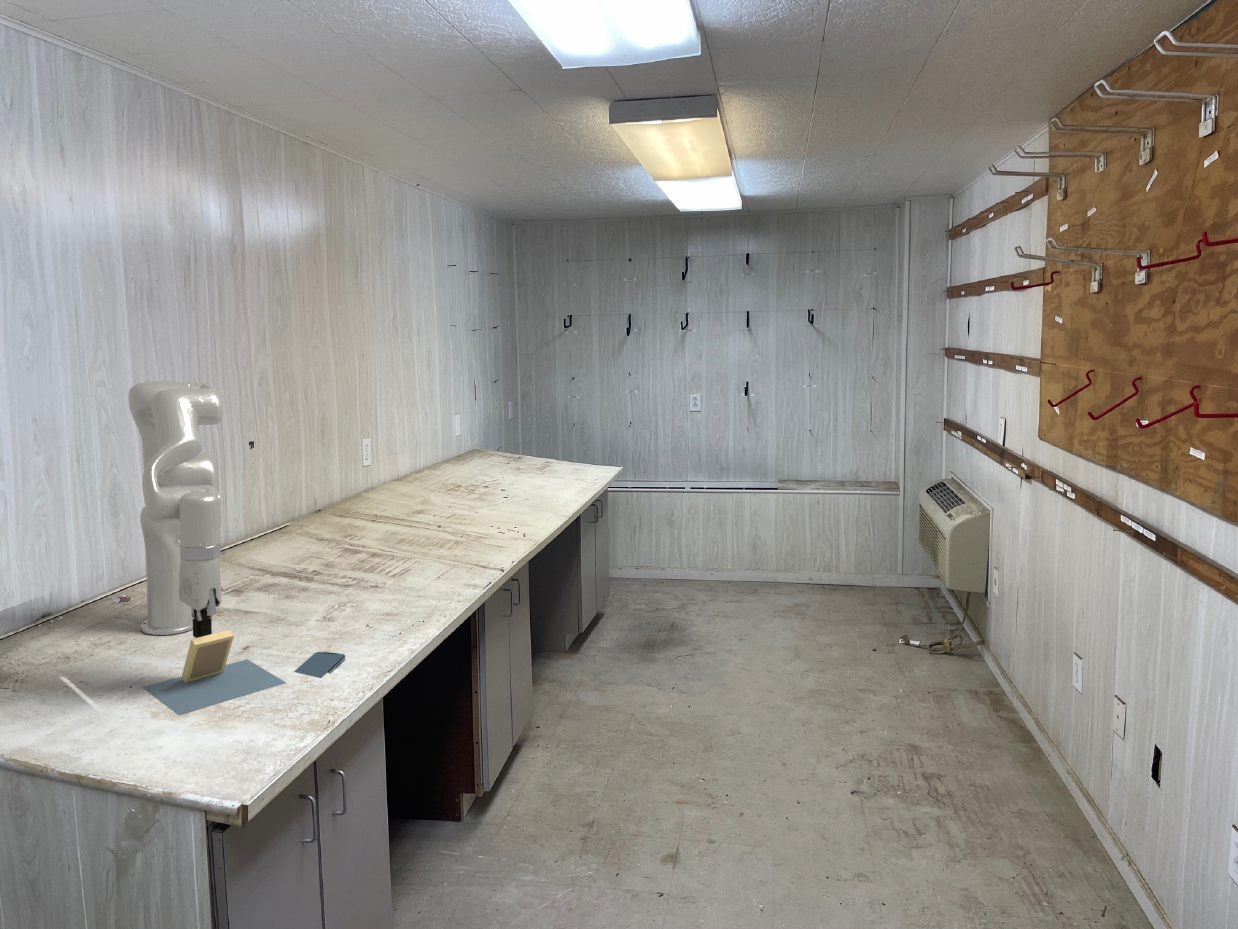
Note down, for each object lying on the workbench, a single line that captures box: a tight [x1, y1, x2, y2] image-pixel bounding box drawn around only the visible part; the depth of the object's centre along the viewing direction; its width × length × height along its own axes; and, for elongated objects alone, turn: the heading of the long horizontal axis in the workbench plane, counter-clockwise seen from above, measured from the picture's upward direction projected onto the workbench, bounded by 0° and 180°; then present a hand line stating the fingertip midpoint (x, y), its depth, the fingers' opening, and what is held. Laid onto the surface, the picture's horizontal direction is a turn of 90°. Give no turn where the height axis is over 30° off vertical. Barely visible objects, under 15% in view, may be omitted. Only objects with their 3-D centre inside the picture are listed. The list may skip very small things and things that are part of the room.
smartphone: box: [293, 651, 346, 679], centre depth 189 cm, size 8×2×15 cm
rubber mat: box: [142, 658, 287, 716], centre depth 177 cm, size 17×22×1 cm
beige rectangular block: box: [181, 629, 235, 683], centre depth 178 cm, size 2×8×11 cm
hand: (202, 636), depth 179 cm, fingers closed
